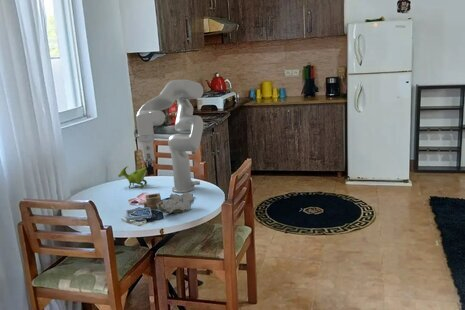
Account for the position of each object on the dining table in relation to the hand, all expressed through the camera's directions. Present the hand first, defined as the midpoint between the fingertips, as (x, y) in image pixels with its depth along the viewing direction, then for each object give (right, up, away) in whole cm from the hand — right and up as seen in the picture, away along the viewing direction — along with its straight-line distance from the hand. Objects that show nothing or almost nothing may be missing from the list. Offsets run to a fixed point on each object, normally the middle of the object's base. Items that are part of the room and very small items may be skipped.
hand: (150, 172), depth 226 cm
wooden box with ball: (+1, -18, +4) cm, 18 cm away
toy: (-16, -10, +44) cm, 47 cm away
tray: (-4, -21, -7) cm, 22 cm away
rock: (+14, -19, -4) cm, 24 cm away
